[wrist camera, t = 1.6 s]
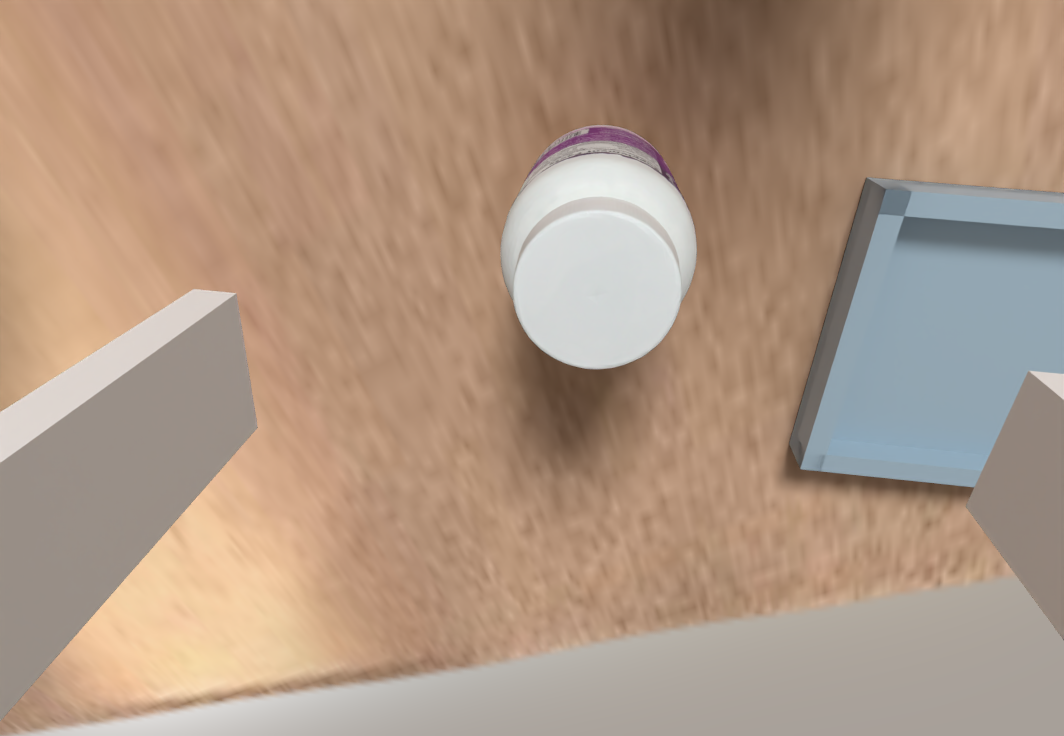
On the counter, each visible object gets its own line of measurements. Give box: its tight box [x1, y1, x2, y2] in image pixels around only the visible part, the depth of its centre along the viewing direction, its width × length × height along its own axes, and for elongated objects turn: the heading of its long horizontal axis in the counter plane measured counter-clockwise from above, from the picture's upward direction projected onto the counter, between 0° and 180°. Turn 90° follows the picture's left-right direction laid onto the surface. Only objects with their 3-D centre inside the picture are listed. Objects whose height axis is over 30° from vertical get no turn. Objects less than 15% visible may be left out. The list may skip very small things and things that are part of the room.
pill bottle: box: [501, 125, 697, 369], centre depth 20 cm, size 5×5×10 cm
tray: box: [789, 178, 1064, 487], centre depth 24 cm, size 14×11×2 cm
